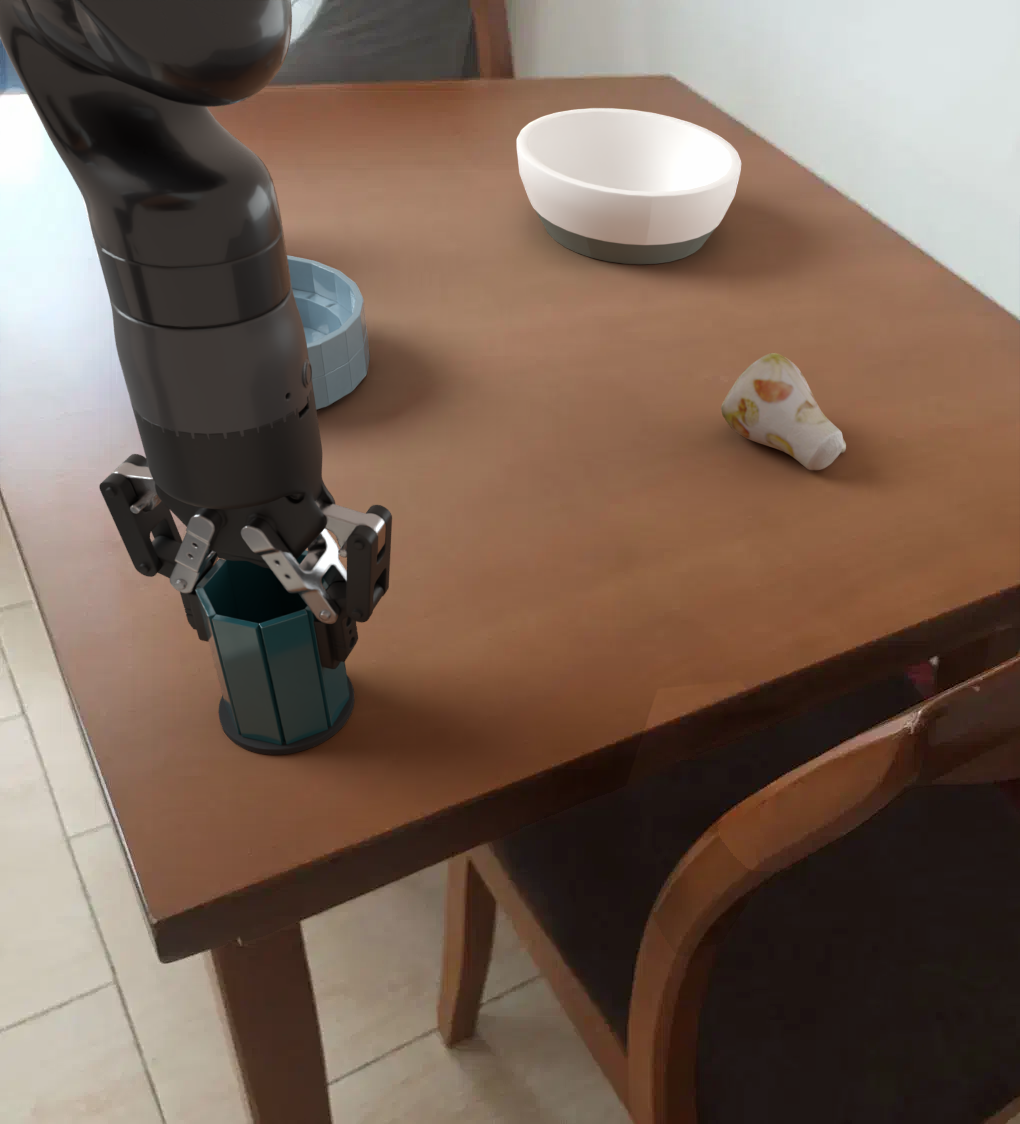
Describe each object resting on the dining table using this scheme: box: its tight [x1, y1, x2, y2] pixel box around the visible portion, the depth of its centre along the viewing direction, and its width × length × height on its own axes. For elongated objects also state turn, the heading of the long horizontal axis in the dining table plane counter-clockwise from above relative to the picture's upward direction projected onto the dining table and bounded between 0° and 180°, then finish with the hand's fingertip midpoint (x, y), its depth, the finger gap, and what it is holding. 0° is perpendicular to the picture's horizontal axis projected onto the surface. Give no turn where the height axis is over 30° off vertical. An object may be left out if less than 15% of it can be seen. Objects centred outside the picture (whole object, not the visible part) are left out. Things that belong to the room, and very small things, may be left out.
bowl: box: [515, 107, 742, 265], centre depth 115 cm, size 22×22×8 cm
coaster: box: [218, 674, 355, 756], centre depth 64 cm, size 7×7×1 cm
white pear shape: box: [720, 352, 847, 471], centre depth 89 cm, size 8×10×10 cm
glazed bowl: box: [287, 254, 371, 411], centre depth 87 cm, size 16×16×6 cm
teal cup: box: [195, 549, 350, 745], centre depth 61 cm, size 6×6×9 cm
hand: (277, 643), depth 61 cm, fingers closed on teal cup, 6 cm apart
